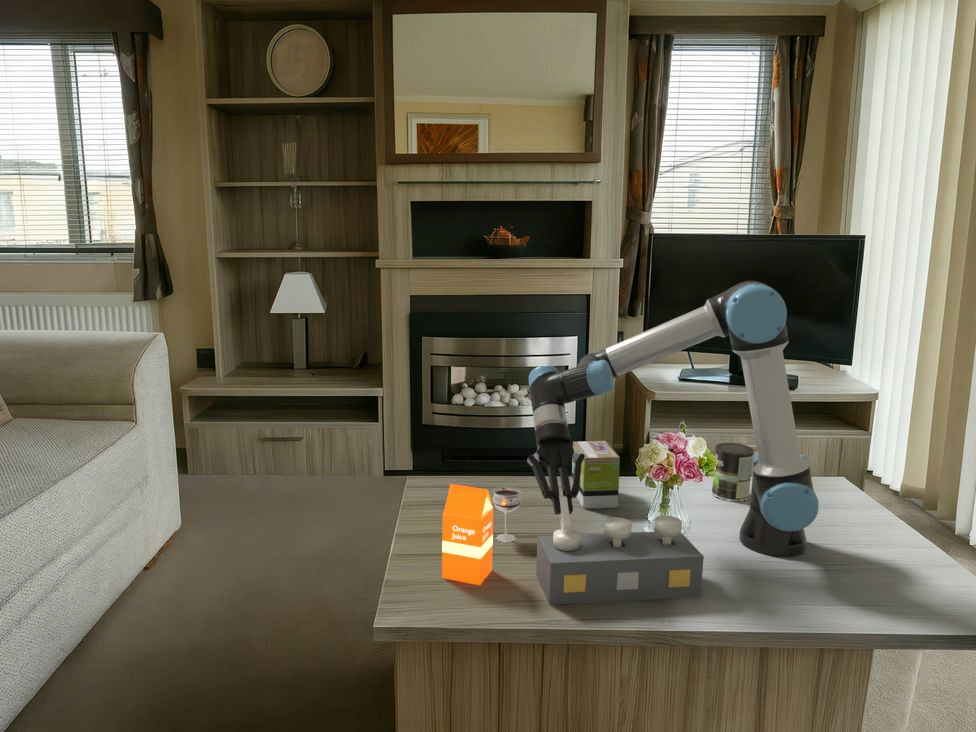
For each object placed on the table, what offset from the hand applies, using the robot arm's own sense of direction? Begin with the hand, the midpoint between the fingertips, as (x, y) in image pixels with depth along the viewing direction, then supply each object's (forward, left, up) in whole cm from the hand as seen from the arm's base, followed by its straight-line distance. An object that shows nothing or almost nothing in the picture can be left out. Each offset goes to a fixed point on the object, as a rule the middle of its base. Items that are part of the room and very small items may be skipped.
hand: (566, 527), depth 158 cm
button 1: (0, 0, -9) cm, 9 cm away
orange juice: (+21, +4, -13) cm, 25 cm away
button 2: (-19, -11, -7) cm, 23 cm away
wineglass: (+20, -17, -13) cm, 29 cm away
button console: (-10, -4, -13) cm, 17 cm away
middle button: (-10, -5, -7) cm, 13 cm away
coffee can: (-28, -71, -13) cm, 78 cm away
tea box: (+7, -52, -13) cm, 55 cm away
